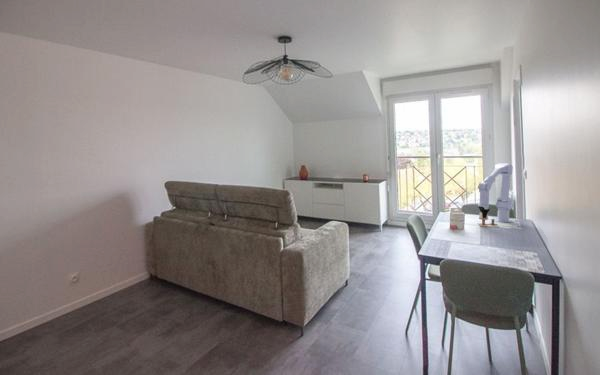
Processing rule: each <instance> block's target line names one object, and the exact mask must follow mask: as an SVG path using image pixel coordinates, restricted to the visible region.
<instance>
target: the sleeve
mask: <svg viewBox="0 0 600 375" xmlns="http://www.w3.org/2000/svg"><path fill="white" fill-rule="evenodd" d="M478 215H479V216H478V217H479V218H478V219H479V220H481V221H482V220H485V221H487V220H489V213H488V214H487V217H486V218H483V217H482V212H480V211H479V214H478Z"/></svg>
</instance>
